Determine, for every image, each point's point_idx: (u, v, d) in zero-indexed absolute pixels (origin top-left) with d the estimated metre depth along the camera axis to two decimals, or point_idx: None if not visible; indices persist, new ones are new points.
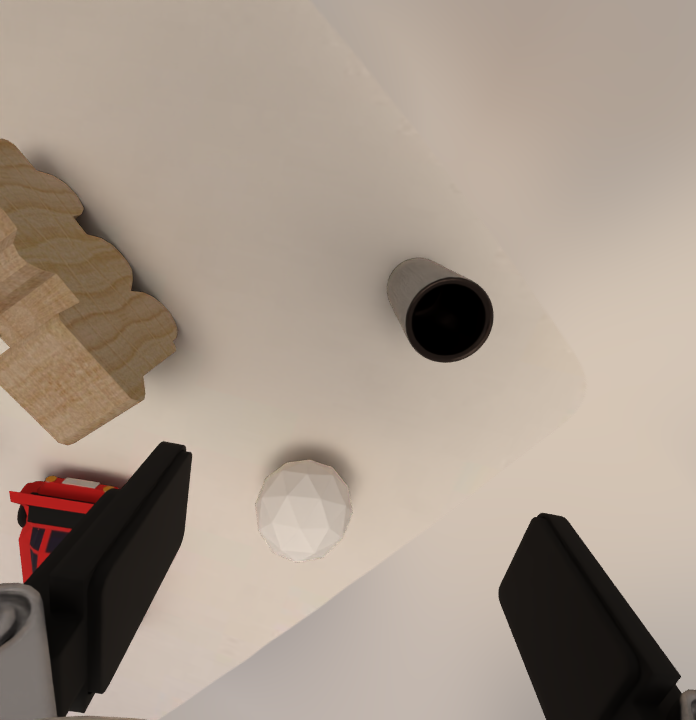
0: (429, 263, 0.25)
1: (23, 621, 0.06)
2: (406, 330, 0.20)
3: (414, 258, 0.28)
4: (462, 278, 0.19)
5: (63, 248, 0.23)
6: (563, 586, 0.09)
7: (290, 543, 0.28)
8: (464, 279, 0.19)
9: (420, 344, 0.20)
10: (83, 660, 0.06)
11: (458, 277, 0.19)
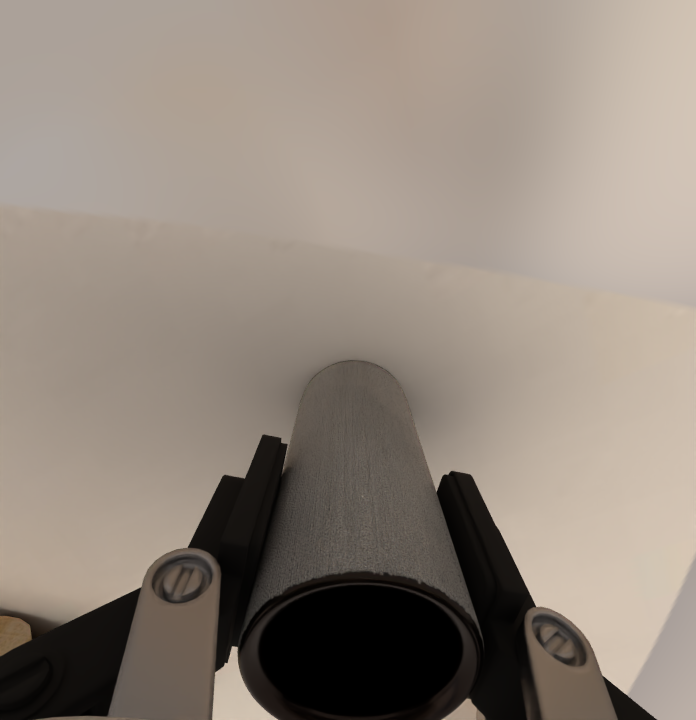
0: (309, 420, 0.12)
1: (204, 578, 0.07)
2: None
3: (311, 381, 0.16)
4: (299, 584, 0.06)
5: None
6: (455, 531, 0.10)
7: None
8: (304, 586, 0.06)
9: None
10: (234, 615, 0.08)
11: (289, 586, 0.07)
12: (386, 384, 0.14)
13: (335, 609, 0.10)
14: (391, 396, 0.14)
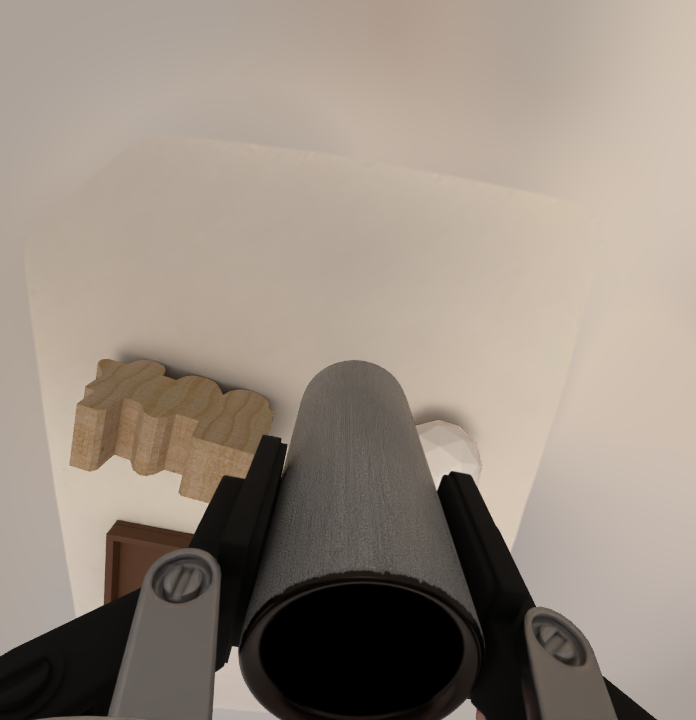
0: (309, 420, 0.12)
1: (205, 578, 0.07)
2: None
3: (312, 381, 0.16)
4: (300, 583, 0.06)
5: (170, 397, 0.33)
6: (455, 531, 0.10)
7: None
8: (305, 585, 0.06)
9: None
10: (235, 616, 0.08)
11: (290, 585, 0.07)
12: (386, 384, 0.14)
13: (336, 609, 0.10)
14: (391, 395, 0.14)
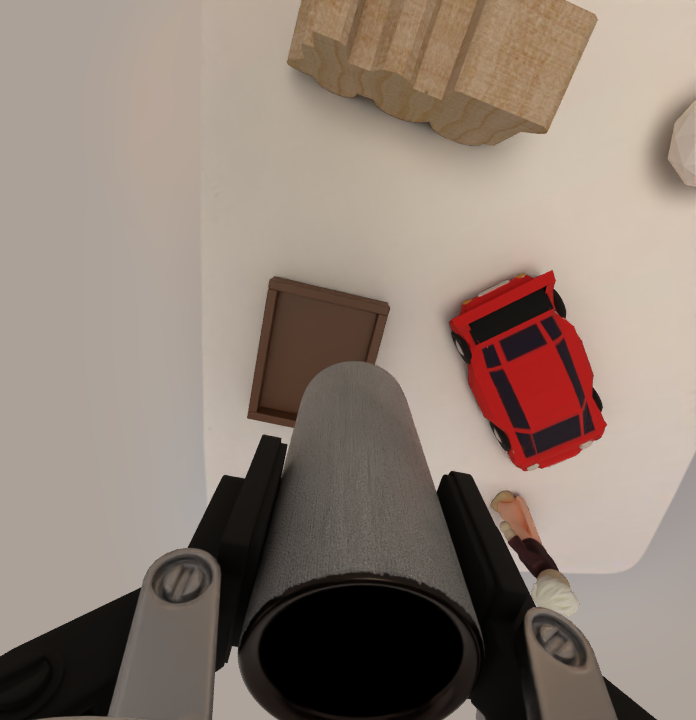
0: (309, 421, 0.12)
1: (204, 578, 0.07)
2: None
3: (311, 382, 0.16)
4: (299, 585, 0.06)
5: None
6: (455, 531, 0.10)
7: None
8: (304, 586, 0.06)
9: None
10: (235, 615, 0.08)
11: (289, 587, 0.07)
12: (386, 384, 0.14)
13: (335, 610, 0.10)
14: (391, 396, 0.14)
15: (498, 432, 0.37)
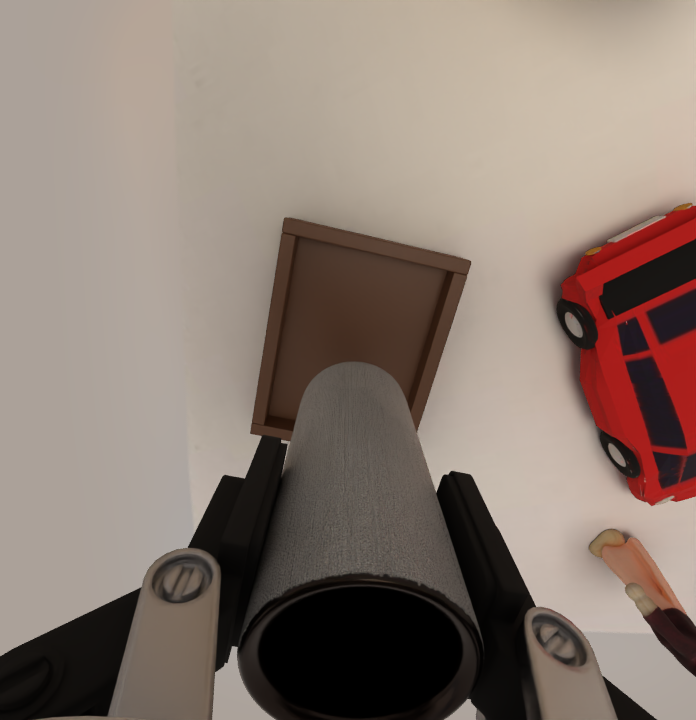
0: (308, 421, 0.12)
1: (204, 578, 0.07)
2: None
3: (311, 382, 0.16)
4: (298, 586, 0.06)
5: None
6: (455, 531, 0.10)
7: None
8: (304, 588, 0.06)
9: None
10: (235, 615, 0.08)
11: (289, 588, 0.07)
12: (386, 385, 0.14)
13: (335, 611, 0.10)
14: (390, 397, 0.14)
15: (623, 451, 0.25)
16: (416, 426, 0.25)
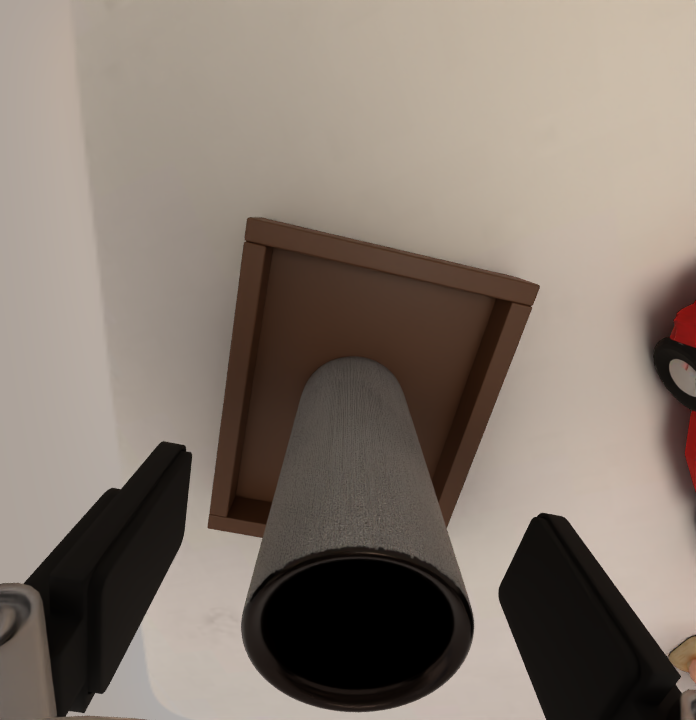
0: (309, 412, 0.13)
1: (23, 621, 0.06)
2: None
3: (311, 376, 0.16)
4: (299, 559, 0.07)
5: None
6: (563, 586, 0.09)
7: None
8: (304, 560, 0.07)
9: (345, 693, 0.08)
10: (82, 660, 0.06)
11: (290, 561, 0.07)
12: (384, 378, 0.15)
13: (334, 592, 0.10)
14: (388, 389, 0.14)
15: None
16: (446, 519, 0.17)
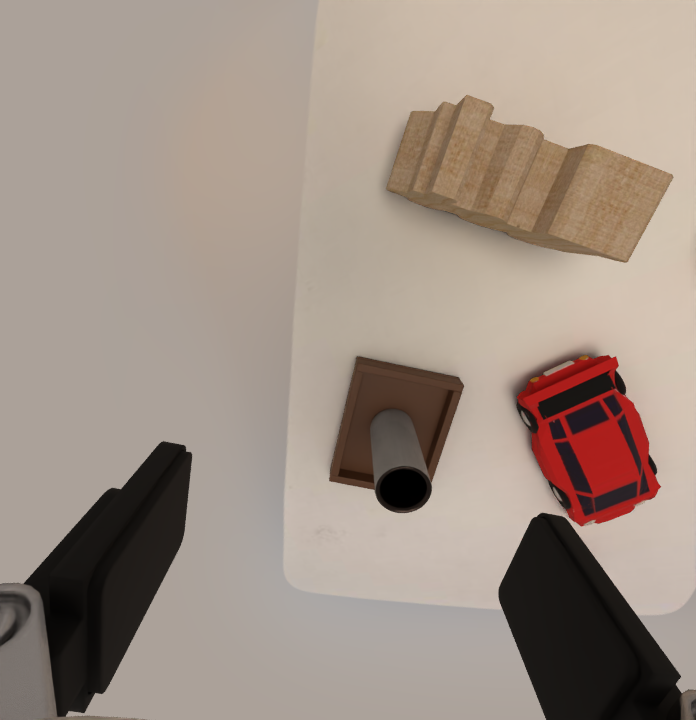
0: (380, 433, 0.36)
1: (23, 621, 0.06)
2: None
3: (375, 417, 0.40)
4: (391, 469, 0.31)
5: None
6: (563, 586, 0.09)
7: None
8: (392, 469, 0.30)
9: (399, 508, 0.32)
10: (83, 661, 0.06)
11: (388, 469, 0.31)
12: (405, 419, 0.38)
13: (392, 489, 0.34)
14: (407, 424, 0.38)
15: (559, 493, 0.41)
16: (431, 477, 0.41)
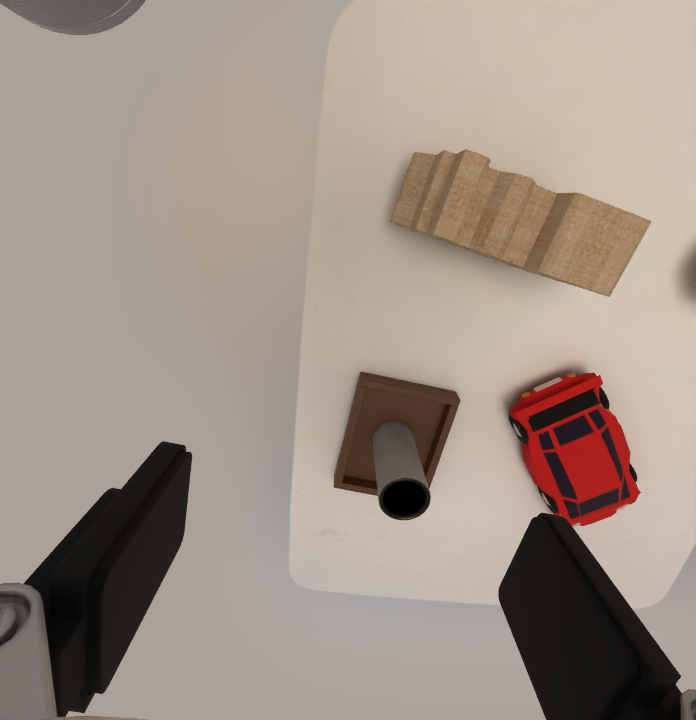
0: (382, 444, 0.39)
1: (23, 621, 0.06)
2: (388, 515, 0.35)
3: (377, 428, 0.43)
4: (393, 480, 0.33)
5: None
6: (563, 586, 0.09)
7: None
8: (394, 480, 0.33)
9: (400, 515, 0.35)
10: (83, 659, 0.06)
11: (391, 481, 0.33)
12: (406, 431, 0.41)
13: (394, 497, 0.37)
14: (407, 436, 0.40)
15: (547, 498, 0.44)
16: (429, 483, 0.44)
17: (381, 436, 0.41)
